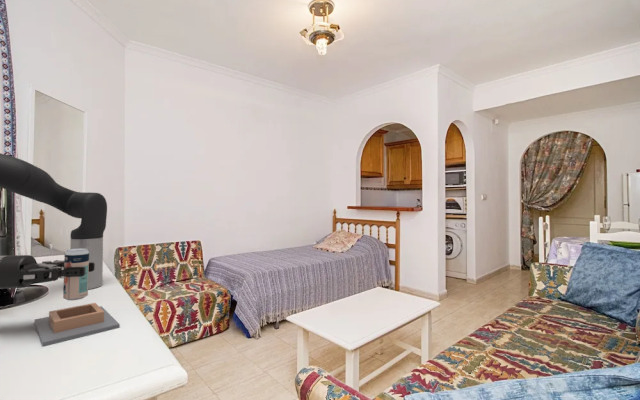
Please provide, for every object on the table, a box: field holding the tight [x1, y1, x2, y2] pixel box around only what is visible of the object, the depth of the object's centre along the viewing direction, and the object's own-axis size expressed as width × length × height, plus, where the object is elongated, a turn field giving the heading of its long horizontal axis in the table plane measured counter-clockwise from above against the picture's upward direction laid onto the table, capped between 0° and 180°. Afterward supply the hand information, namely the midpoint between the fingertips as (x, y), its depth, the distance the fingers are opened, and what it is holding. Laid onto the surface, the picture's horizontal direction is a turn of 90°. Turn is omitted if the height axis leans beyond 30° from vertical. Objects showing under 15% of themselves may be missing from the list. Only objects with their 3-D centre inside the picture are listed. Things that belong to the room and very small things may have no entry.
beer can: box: [62, 248, 89, 301], centre depth 77 cm, size 5×5×12 cm
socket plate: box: [34, 302, 120, 347], centre depth 77 cm, size 18×14×3 cm
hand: (89, 269), depth 78 cm, fingers closed on beer can, 4 cm apart
